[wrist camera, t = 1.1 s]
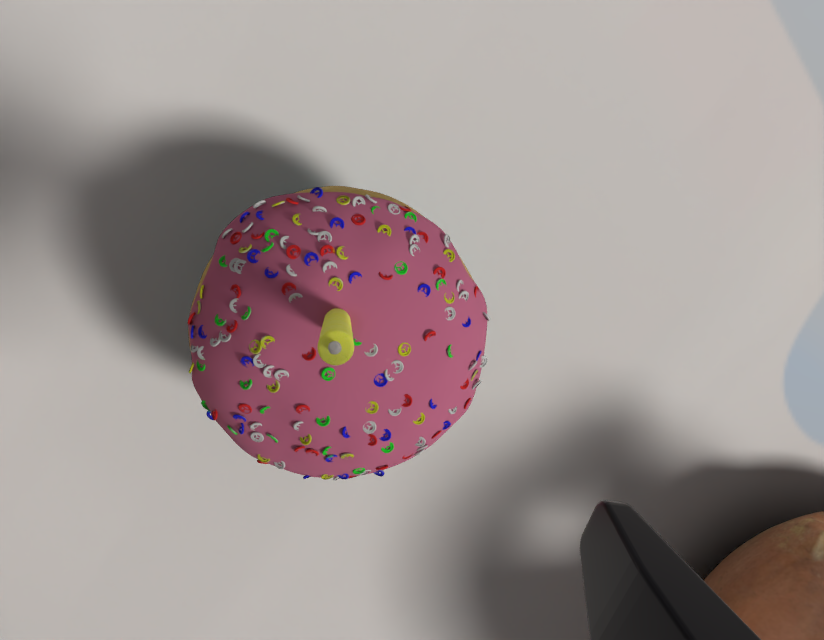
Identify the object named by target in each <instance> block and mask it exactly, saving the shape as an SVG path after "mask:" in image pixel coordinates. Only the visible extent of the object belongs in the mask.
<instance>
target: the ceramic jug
mask: <svg viewBox="0 0 824 640" xmlns="http://www.w3.org/2000/svg"><path fill="white" fill-rule="evenodd" d="M703 581H704V582H705V583H706V584H707V585H708V586H709V587H710V588H711V589H712V590H713V591H714V592H715V593H716V594H717V595H718V596H719V597H720V598H721V599H722V600H723V601H724V602H725V603H726V604H727V605H728V606H729V607H730V608H731V609H732V610H733V611H734V612H735V613H736V614H737V615H738V616H739V617H740V618H741V619H742V621H743V622H744V623H745V624H746V625H747V626H748V627H749V628H750V629H751V630H752V631H753V632H754V633H755V634H756V635H757V636H758V637H759V638H760V639H761V640H824V511H822V512H816V513H812V514H807V515H804V516H800V517H797V518H794V519H791V520H788V521H786V522H783V523H781V524H778V525H776V526H773V527H771V528H769V529H767V530H765V531H763V532H761V533H760V534H758V535H756V536H755V537H753V538H752V539H750V540H748V541H747V542H745V543H744V544H743V545H741V546H740V547H738V548H737V549H735V550H734V551H733V552H731V553H730V554H729V555H728V556H727V557H726V558H725V559H723V560H722V561H721V562H720V563H719V564H718V565H717V566H716V567H715V568H714V569H713V570H712V571H711V573H710V574H709V575H708V576H707V577H706V578H705V579H704V580H703Z"/></svg>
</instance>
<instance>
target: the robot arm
mask: <svg viewBox="0 0 824 640" xmlns="http://www.w3.org/2000/svg"><path fill="white" fill-rule="evenodd" d="M580 555H581V564H582V572H583V581H584V589H585V598H586V606H587V615H588V623H589V632H590V639H591V640H761V639H760V638H759V637H758V636H757V635H756V634H755V633H754V632H753V631H752V630H751V629H750V628H749V627H748V626H747V625H746V624H745V623H744V622H743V621H742V619H741V618H740V617H739V616H738V615H737V614H736V613H735V612H734V611H733V610H732V609H731V608H730V607H729V606H728V605H727V604H726V603H725V602H724V601H723V600H722V599H721V598H720V597H719V596H718V595H717V594H716V593H715V592H714V591H713V590H712V589H711V588H710V587H709V586H708V585H707V584H706V583H705V582H704V581H703V580H702V579H701V577H700V576H699V575H698V574H697V573H696V572H695V571H694V570H693V569H692V568H691V567H690V566H689V565H688V564H687V563H686V562H685V561H684V560H683V559H682V558H681V557H680V556H679V555H678V554H677V553H676V552H675V551H674V550H673V549H672V548H671V547H670V546H669V545H668V544H667V543H666V542H665V541H664V540H663V539H662V538H661V537H660V535H659V534H658V533H657V532H656V531H655V530H654V529H653V528H652V527H651V526H650V525H649V524H648V523H647V522H646V521H645V520H644V519H643V518H642V517H641V516H640V515H639V514H638V513H637V512H636V511H635V510H634V509H633V508H632V507H631V506H630V505H628V504H626V503H623V502H616V501H608V500H603V501H600V502H599V503H598V504H597V506H596V507H595V509H594V511H593V513H592V516H591V518H590V520H589V522H588V524H587V526H586V528H585V530H584V532H583V534H582V537H581V541H580Z"/></svg>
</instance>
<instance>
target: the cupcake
mask: <svg viewBox="0 0 824 640" xmlns="http://www.w3.org/2000/svg"><path fill="white" fill-rule="evenodd" d="M487 320H488V321H490V317H489V316H488V315H487V307H486V302H485V299H484V297H483V294H482V292H481V291H480V289H479V288H478V286H477V285H476V284H475V282H474V281H473V279H472V277H471V275H470V273H469V272H468V270H467V268H466V266H465V265H464V263H463V261H462V260H461V258H460V257H459V255H458V253H457V251H456V250H455V248H454V246H453V244H452V243H451V241H450V238H449V236H448V235H447V234H445V233H444V232H443V231H442V230H441V229H440V228H439V227H438V226H437V225H435V224H434V223H433V222H431V221H430V220H428V219H426V218H425V217H424V216H422V215H421V214H420V213H418V212H417V211H415V210H414V209H412V208H411V207H409V206H408V205H406V204H404V203H402V202H400V201H398V200H396V199H394V198H392V197H389V196H387V195H384V194H381V193H377V192H373V191H368V190H363V189H357V188H351V187H345V186H326V187H316V188H311V189H306V190H302V191H298V192H296V193H293V194H285V195H279V196H274V197H270V198H267V199H265V200H261V201H259V202H257V203H255V204H254V205H253V206H251V207H250V208H248V209H247V210H245V211H244V212H243V213H241V214H240V215H239V216H237V217H236V218H235V219H234V220H233V221H232V222H231V223H230V224H229V225H228V226H227V227H226V228H225V229H224V231H223V232H222V233H221V235H220V237H219V239H218V241H217V244H216V248H215V251H214V254H213V256H212V258H211V259H210V261H209V263H208V264H207V266H206V268H205V270H204V272H203V275H202V277H201V280H200V282H199V285H198V288H197V291H196V294H195V297H194V300H193V303H192V306H191V310H190V316H189V319H188V335H189V346H190V351H191V355H192V365H191V368H190V370H189V373H191V371H192V381H193V384H194V387H195V389H196V391H197V393H198V395H199V396H200V398H201V400H202V402H201V404H202V406H203V407H204V408H205V409H207V410H208V411H207V416H208V418H210V419H211V420H216V421H217V422H218V424H219V425H220V426H221V427H222V428H223V429H224V430H225V432H226V433H227V434H228V435H229V436H230V437H231V438H232V439H233V441H234V442H235V443H236V444H237V445H238V446H239V447H241V448H242V449H243V450H244V451H245V452H247V453H248V454H250V455H251V456H253V457H255V458H257V459H259V460H257V462H258V463H263V464H271V465H274V466H276V467H277V468H279V469H285V470H288V471H291V472H294V473H297V474H301V475H306V476H304V477H303V478H304V479H306V478H309V477H321V478H322V479H330V478H332V477H335V478H334V479H333V480H334V481H335V480H337V479H339V478H341V479H348V478H352V477H356V476H358V475H364V474H370V473H374V474H376V475H378V476H383V475H384V472H383V471H382V470H384V469H387V468H390V467H393V466H395V465H398V464H400V463H402V462H405V461H407V460H409V459H411V458H413V457H414V456H416V455H419V454H420V453H422V452H423V451H424V450H425V449H427V448H428V447H429V446H431V445H432V444H433V443H434V442H436V441H437V440H438V439H439V438H440V437H441V436H442V435H443V434H444V433H445V432H446V431H447V430H448V429H449V428H450V427H451V426H452V425H453V424H454V423H455V422H456V421H457V420H458V419H459V418H460V417H461V416H462V415H463V414H464V413H465V412H466V410H467V409H468V407H469V406H470V404H471V402H472V399H473V397H474V394H475V391H476V387H477V386H478V385H479V384H480V382H481V380H479V377H480V373H481V368H482V367H484V366H485V365H486V363H487V358H486V356H484V349H485V341H486V331H487ZM483 359H484V362H483ZM482 363H483V364H482ZM478 380H479V381H478ZM210 413H211V416H210ZM377 472H378V473H377ZM379 472H381V474H380V473H379Z"/></svg>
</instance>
